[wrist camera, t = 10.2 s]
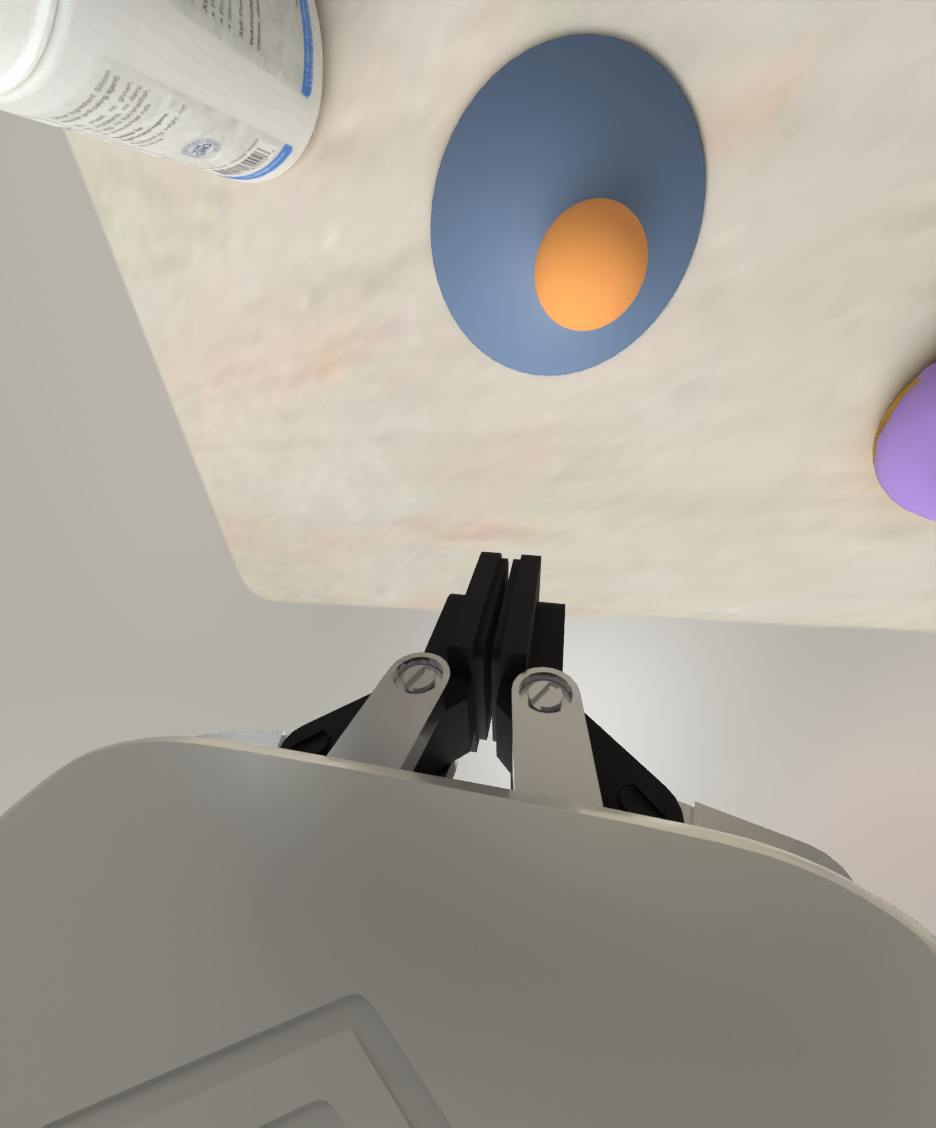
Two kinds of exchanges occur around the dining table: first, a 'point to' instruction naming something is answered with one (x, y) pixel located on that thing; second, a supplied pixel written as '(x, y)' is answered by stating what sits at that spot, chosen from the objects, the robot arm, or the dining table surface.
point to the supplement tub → (170, 77)
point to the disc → (563, 193)
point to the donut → (910, 447)
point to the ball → (591, 264)
